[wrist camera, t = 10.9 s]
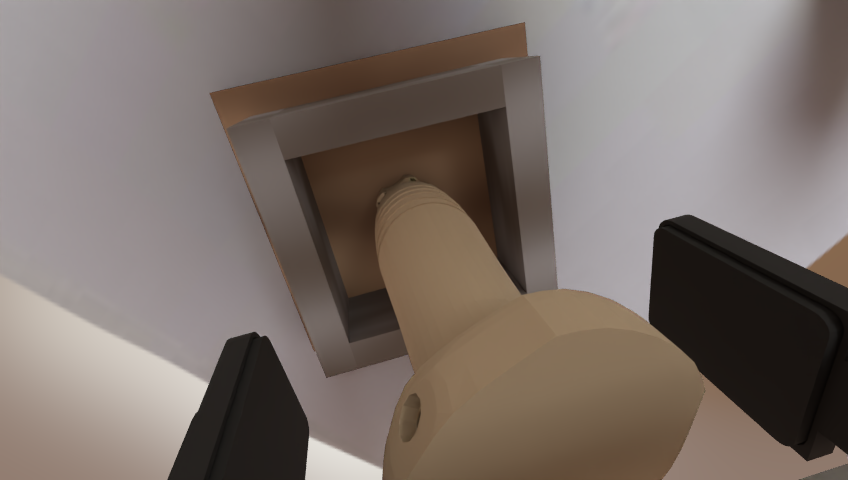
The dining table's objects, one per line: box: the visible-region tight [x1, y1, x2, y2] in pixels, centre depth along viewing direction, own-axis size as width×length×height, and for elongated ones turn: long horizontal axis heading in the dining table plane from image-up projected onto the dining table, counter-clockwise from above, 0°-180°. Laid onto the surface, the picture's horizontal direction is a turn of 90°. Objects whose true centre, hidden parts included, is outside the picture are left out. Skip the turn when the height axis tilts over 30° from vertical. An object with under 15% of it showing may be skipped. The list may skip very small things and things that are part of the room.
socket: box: [210, 22, 558, 378], centre depth 19 cm, size 14×14×5 cm
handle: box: [375, 175, 705, 480], centre depth 14 cm, size 5×6×15 cm
